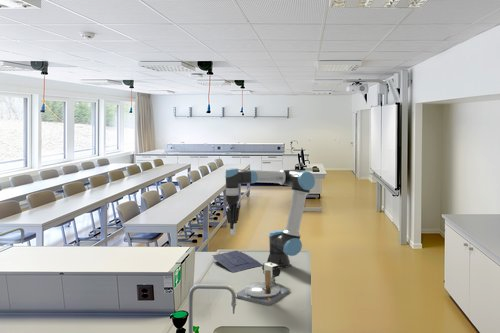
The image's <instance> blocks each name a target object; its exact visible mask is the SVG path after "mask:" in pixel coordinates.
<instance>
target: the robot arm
mask: <svg viewBox="0 0 500 333" xmlns="http://www.w3.org/2000/svg"><path fill="white" fill-rule="evenodd" d="M224 177H225V194H226V195H225V202H227V206H226V207H224V211H225V215H226V222H227V223H228V224H229V229H230V235H236V234H237V232H236V231H237V229H236V227H237V225H236V224H237V223H238V222H239V216H240V208H241V205H240V204H239V203H238V202H239V201H240V195H239V192H240V189H239V187H240V185H243V184H244V185H247V184H255V183H268V184H269V183H271V184H272V183H273V184H279V185H281V186H283V185H284V186H289V187H291V189H290V190H291V193H292V196H291V201H290V206H289V212H288V216H287V221H286V226H285V229H277V230H271V231H270V232H269V234H268V238H269V240H268V241H269V242H268V243H269V254H268V257H267V261H266V263H267V262H271V263H273V264H274V263H275V264H276V265H279V268H280V269H283V268H288V267H289V266H290V265H291V261H290V258H289V256H290V257H293V256H297V255H298V254H299V253H300V252H301V251H302V248H303V244H302V241H301V234H300V228H301V224H302V218H303V214H304V208H305V204H306V200H307V199H306V198H307V195H309V194H310V191H311V190H312V189H313V188H314V187H315V184H316V178H315V176H314V174H313V173H312V172H310V171H307V170H304V169H303V170H302V169H301V170H300V169H285V170H284V169H281V170H279V171H277V170H259V169H257V170H255V169H239V168H234V167H233V168H231V167H230V168H226V170H225V176H224Z"/></svg>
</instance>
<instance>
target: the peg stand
mask: <svg viewBox="0 0 500 333" xmlns="http://www.w3.org/2000/svg"><path fill="white" fill-rule="evenodd" d="M280 287H281V286H280V285H277V284H276V283H271V271H270V270H266V271H265V274H264V281H257V282H256V283H255V282H251V283H249V284H247V285H246V286H245V287H244V289H245V294H246V295H248V296H250V297H253V298H271V297H274V296H277V295H278V294H279V293H280Z"/></svg>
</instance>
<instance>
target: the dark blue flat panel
mask: <svg viewBox="0 0 500 333" xmlns="http://www.w3.org/2000/svg"><path fill="white" fill-rule="evenodd" d="M211 256H212V259H214V260H215V261H216V262H217V263H219V264H221V265H222V266H223V267H225V268H226V269H227V270H228V271H230V272H232V273H237V272H239V271H244V270H248V269H251V268H257V267H262V266H263V264H262V263H261V262H260V261H258V260H257V259H255V258H253V257H251V256H250V255H249V254H246V253H245V252H243V251H239V250H232V251H228V252H223V253H218V254H213V255H211Z"/></svg>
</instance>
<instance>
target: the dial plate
mask: <svg viewBox="0 0 500 333" xmlns="http://www.w3.org/2000/svg"><path fill="white" fill-rule="evenodd" d="M254 283H256V282H254ZM279 287H280V293H279V294H278V295H277V296H274V297H271V298H253V297H250V296H248V295H246V294H245V288H243V289H241V290H240V291H238V292H236V293H235V294H237V299H239V300H240V299H242V300H244V301H249V302H253V303H258V304H262V305H266V306H271V305H272V304H274V303H275V302H277V301H279V300H280V299H281V298H283V297H284V296H286V295H287V294H289V293H291V292H290V291H291V290H290V288H286V287H281V286H279Z"/></svg>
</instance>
